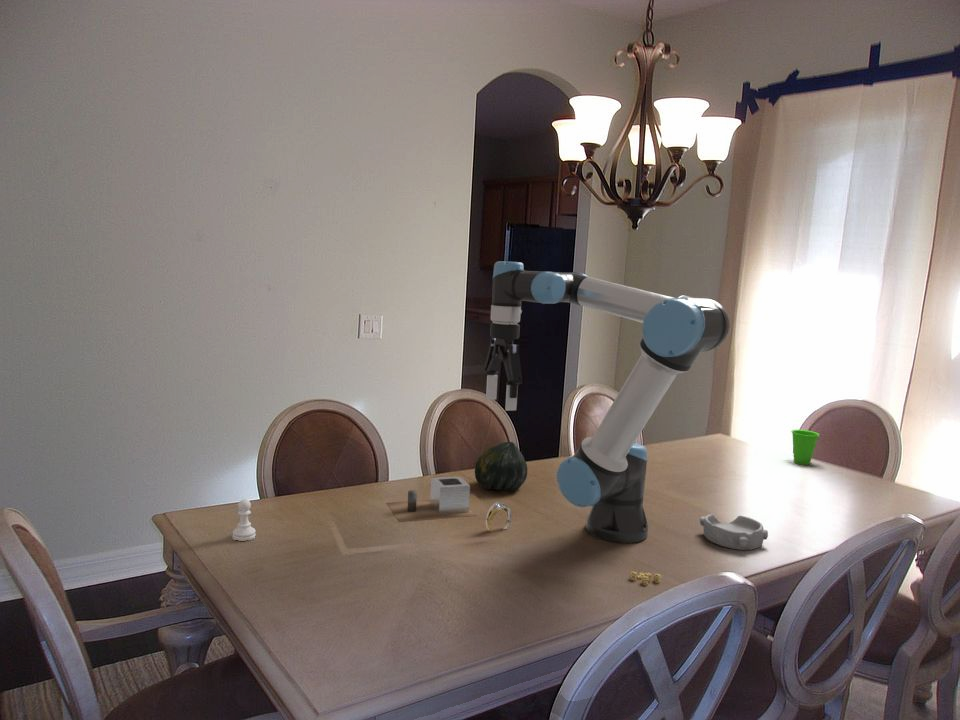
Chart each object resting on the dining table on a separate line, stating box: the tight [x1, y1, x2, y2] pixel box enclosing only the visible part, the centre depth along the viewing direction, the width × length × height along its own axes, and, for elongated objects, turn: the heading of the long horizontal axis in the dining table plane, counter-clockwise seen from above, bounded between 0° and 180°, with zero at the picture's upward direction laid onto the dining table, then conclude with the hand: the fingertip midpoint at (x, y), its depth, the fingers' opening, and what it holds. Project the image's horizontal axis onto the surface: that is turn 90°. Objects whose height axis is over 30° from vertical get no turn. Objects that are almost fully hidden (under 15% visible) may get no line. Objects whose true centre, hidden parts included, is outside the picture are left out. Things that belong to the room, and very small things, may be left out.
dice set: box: [629, 571, 662, 586], centre depth 155 cm, size 5×5×2 cm
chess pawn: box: [232, 499, 257, 541], centre depth 165 cm, size 5×5×9 cm
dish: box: [699, 513, 769, 551], centre depth 179 cm, size 14×14×5 cm
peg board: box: [386, 489, 477, 523], centre depth 187 cm, size 14×20×6 cm
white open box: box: [429, 476, 471, 514], centre depth 188 cm, size 8×8×7 cm
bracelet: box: [485, 501, 512, 533], centre depth 175 cm, size 7×3×8 cm, turn 121°
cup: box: [790, 429, 820, 466], centre depth 256 cm, size 9×9×11 cm
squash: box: [474, 441, 529, 492], centre depth 210 cm, size 14×15×15 cm
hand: (500, 404), depth 187 cm, fingers open, 13 cm apart
